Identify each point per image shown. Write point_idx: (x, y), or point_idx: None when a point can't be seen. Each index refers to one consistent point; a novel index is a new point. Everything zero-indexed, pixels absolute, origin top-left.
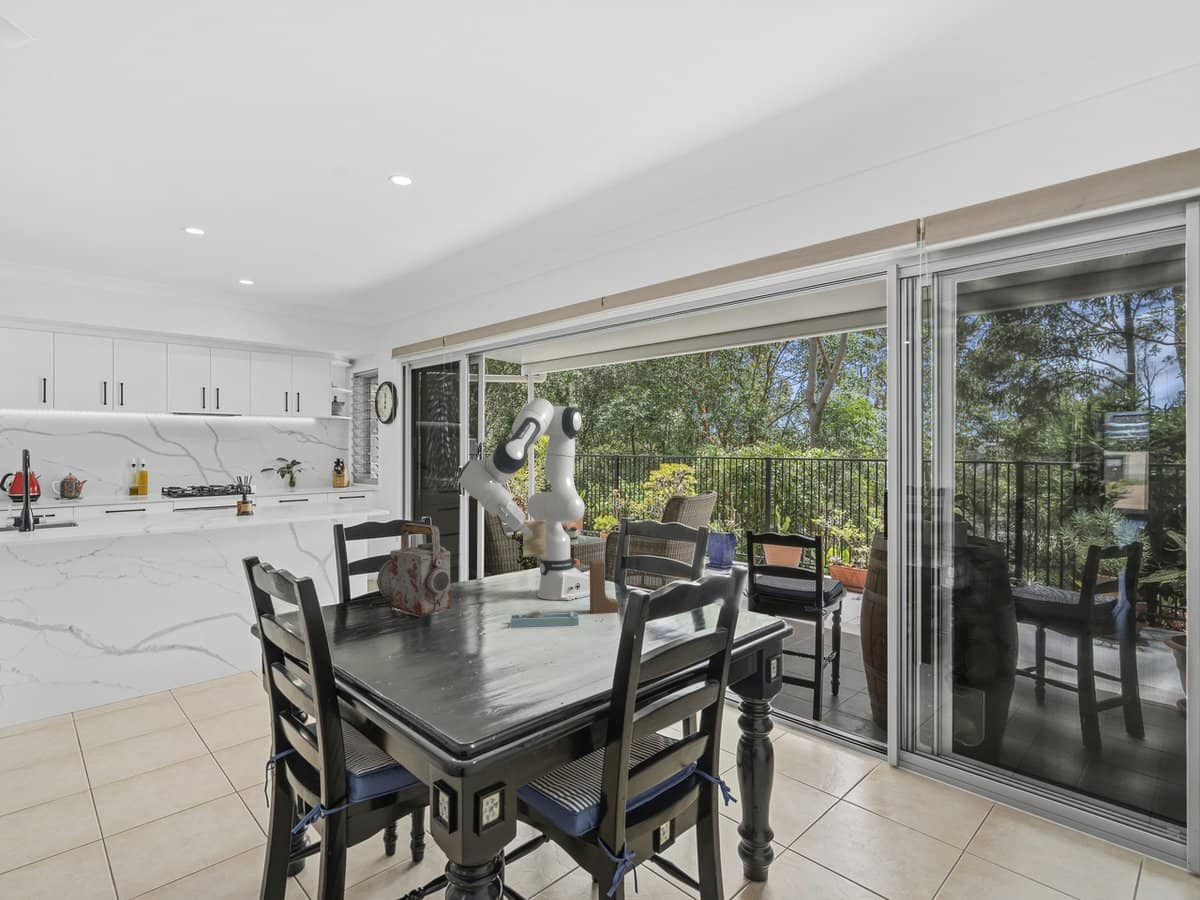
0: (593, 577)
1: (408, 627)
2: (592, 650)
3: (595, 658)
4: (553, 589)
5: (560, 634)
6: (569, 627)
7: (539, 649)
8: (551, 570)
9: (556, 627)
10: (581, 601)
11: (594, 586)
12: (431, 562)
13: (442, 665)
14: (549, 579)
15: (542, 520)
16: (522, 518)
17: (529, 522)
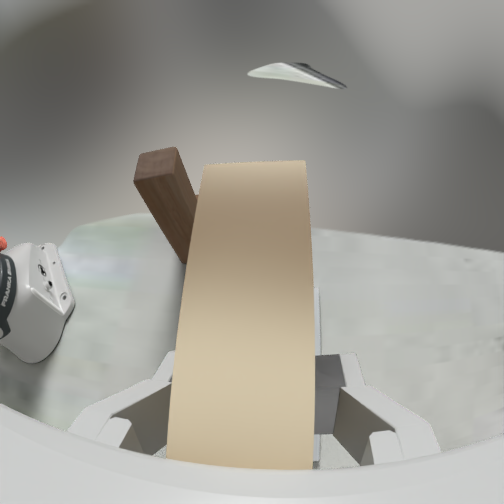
0: (186, 200)
1: None
2: (442, 269)
3: (476, 266)
4: (44, 325)
5: (346, 335)
6: (319, 312)
7: (444, 371)
8: (10, 312)
9: (317, 343)
10: (87, 275)
11: (193, 214)
12: None
13: None
14: (22, 325)
15: (207, 193)
16: (419, 496)
17: (314, 378)
